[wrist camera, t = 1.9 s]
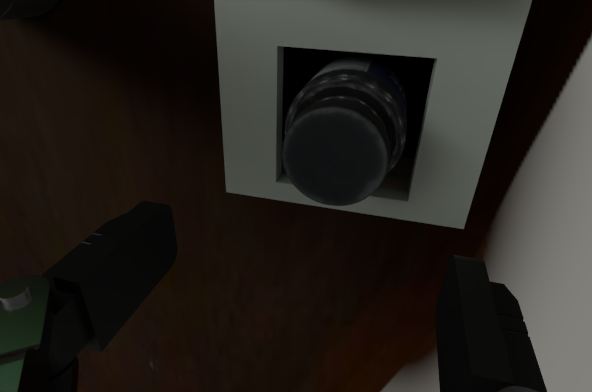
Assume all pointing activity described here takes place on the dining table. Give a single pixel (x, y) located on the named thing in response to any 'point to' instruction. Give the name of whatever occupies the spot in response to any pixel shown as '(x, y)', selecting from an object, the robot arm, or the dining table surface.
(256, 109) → the lid
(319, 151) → the pill bottle
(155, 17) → the dining table surface
